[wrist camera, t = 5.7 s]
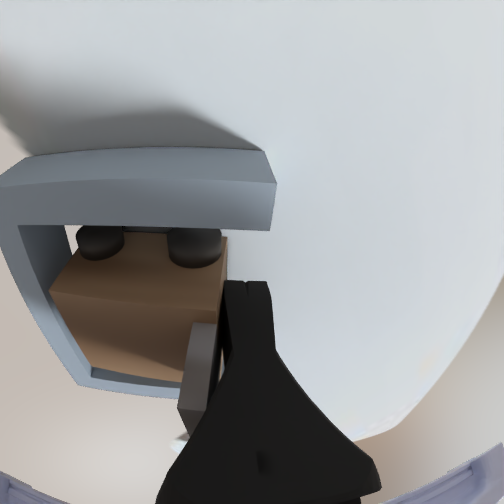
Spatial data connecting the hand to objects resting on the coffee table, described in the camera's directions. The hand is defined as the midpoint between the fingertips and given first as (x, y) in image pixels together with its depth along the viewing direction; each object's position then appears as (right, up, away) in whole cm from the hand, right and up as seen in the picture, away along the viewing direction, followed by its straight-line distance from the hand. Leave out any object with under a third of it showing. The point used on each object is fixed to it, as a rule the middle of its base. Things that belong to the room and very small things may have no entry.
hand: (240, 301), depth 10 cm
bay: (-3, +1, +1) cm, 3 cm away
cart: (-3, +1, +1) cm, 3 cm away
